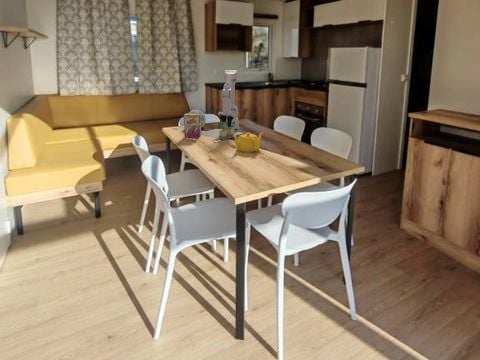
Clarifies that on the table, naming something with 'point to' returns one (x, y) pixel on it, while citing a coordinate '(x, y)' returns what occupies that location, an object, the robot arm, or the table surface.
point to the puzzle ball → (201, 116)
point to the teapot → (248, 142)
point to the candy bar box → (192, 125)
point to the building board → (216, 134)
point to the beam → (225, 125)
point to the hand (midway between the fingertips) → (226, 126)
